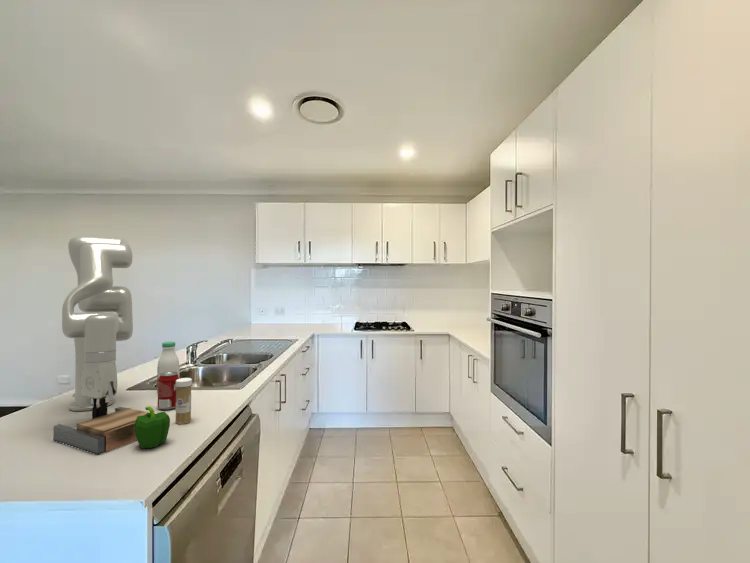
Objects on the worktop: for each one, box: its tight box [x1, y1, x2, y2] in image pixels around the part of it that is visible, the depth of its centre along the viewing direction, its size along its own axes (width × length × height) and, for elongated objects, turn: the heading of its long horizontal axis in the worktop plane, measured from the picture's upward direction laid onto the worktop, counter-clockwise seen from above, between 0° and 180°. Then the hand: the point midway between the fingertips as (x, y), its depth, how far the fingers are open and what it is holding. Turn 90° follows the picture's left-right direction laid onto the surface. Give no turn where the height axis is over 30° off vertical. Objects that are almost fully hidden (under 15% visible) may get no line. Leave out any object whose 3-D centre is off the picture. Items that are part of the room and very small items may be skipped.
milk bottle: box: [156, 341, 180, 394], centre depth 148 cm, size 8×8×20 cm
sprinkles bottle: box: [174, 377, 193, 425], centre depth 118 cm, size 5×5×14 cm
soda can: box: [157, 372, 181, 411], centre depth 131 cm, size 7×7×12 cm
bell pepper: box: [134, 405, 171, 449], centre depth 102 cm, size 8×8×10 cm
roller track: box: [52, 406, 137, 456], centre depth 107 cm, size 20×18×5 cm
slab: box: [76, 407, 148, 437], centre depth 106 cm, size 12×14×2 cm
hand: (99, 419), depth 109 cm, fingers closed
